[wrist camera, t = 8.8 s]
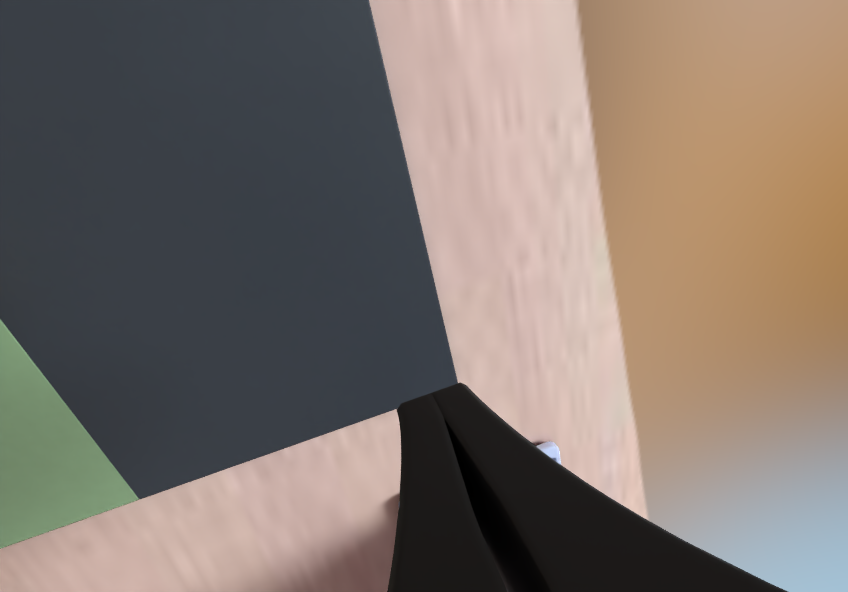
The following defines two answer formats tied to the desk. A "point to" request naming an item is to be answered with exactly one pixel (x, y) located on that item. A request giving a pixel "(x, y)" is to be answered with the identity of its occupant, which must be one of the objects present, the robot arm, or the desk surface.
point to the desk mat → (197, 245)
